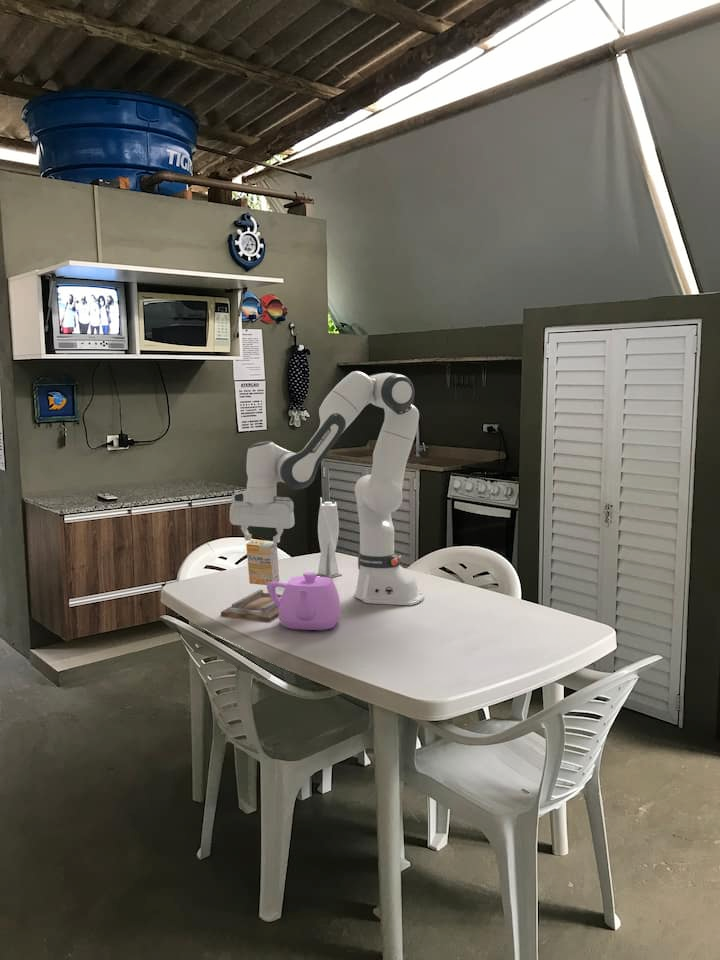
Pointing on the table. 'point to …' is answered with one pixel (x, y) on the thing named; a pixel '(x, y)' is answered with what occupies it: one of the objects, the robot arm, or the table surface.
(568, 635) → the table surface
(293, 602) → the teapot
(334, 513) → the skyscraper
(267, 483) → the robot arm
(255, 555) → the supplement box
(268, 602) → the rail board
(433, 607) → the table surface
